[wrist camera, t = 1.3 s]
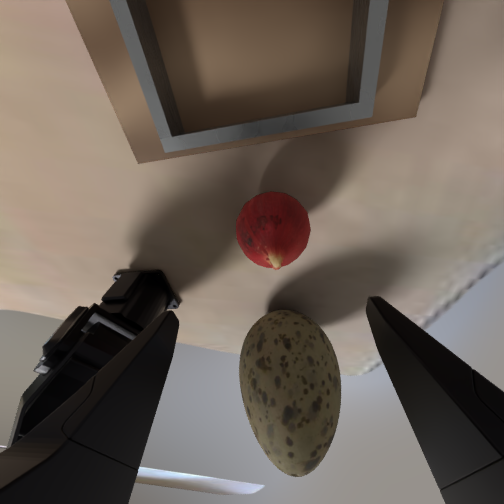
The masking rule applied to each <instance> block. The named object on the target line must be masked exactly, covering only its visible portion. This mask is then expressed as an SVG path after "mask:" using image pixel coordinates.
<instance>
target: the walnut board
mask: <svg viewBox="0 0 504 504" xmlns="http://www.w3.org/2000/svg"><path fill="white" fill-rule="evenodd" d="M145 1H146V4H147V7H148V11H149V14H150V17H151V21H152V24H153V27H154V31H155V34H156V37H157V41H158V44H159V47H160V51H161V54H162V57H163V61H164V64H165V67H166V71H167V74H168V77H169V81H170V84H171V87H172V91H173V94H174V97H175V101H176V104H177V107H178V111H179V114H180V117H181V121H182V124H183V127H184V131H185V132H190V131H195V130H201V129H206V128H212V127H217V126H222V125H228V124H233V123H238V122H244V121H249V120H255V119H260V118H265V117H271V116H276V115H281V114H287V113H292V112H298V111H303V110H308V109H314V108H319V107H324V106H330V105H335V104H341V103H346V90H347V77H348V64H349V51H350V38H351V25H352V12H353V0H145ZM66 3H67V5H68V7H69V9H70V12H71V14H72V16H73V18H74V21H75V23H76V25H77V27H78V30H79V32H80V34H81V36H82V39H83V41H84V43H85V45H86V48H87V50H88V52H89V54H90V57H91V59H92V61H93V63H94V66H95V68H96V70H97V72H98V75H99V77H100V79H101V81H102V84H103V86H104V88H105V90H106V93H107V95H108V97H109V99H110V102H111V104H112V106H113V108H114V111H115V113H116V115H117V117H118V120H119V122H120V124H121V126H122V128H123V131H124V133H125V135H126V137H127V140H128V142H129V144H130V146H131V149H132V151H133V153H134V155H135V158H136V160H137V162H138V164H140V163H146V162H152V161H158V160H164V159H170V158H176V157H181V156H187V155H193V154H199V153H205V152H211V151H217V150H223V149H229V148H235V147H241V146H247V145H253V144H259V143H265V142H271V141H276V140H282V139H288V138H294V137H300V136H306V135H312V134H318V133H324V132H330V131H336V130H342V129H348V128H354V127H360V126H365V125H371V124H377V123H383V122H389V121H395V120H401V119H407V118H413V117H416V114H417V110H418V106H419V102H420V98H421V94H422V90H423V86H424V81H425V77H426V73H427V69H428V65H429V61H430V57H431V53H432V48H433V44H434V40H435V36H436V32H437V28H438V24H439V20H440V15H441V11H442V7H443V3H444V0H389V3H388V10H387V17H386V24H385V31H384V38H383V45H382V52H381V59H380V66H379V73H378V80H377V87H376V94H375V101H374V108H373V115H372V117H369V118H364V119H358V120H352V121H346V122H341V123H335V124H329V125H323V126H318V127H312V128H306V129H300V130H294V131H289V132H283V133H277V134H271V135H266V136H260V137H254V138H248V139H243V140H237V141H231V142H225V143H219V144H214V145H208V146H202V147H196V148H191V149H185V150H179V151H173V152H168V153H165V151H164V149H163V146H162V143H161V141H160V138H159V135H158V132H157V130H156V127H155V124H154V121H153V119H152V116H151V113H150V110H149V108H148V105H147V102H146V99H145V97H144V94H143V91H142V89H141V86H140V83H139V80H138V78H137V75H136V72H135V69H134V67H133V64H132V61H131V58H130V56H129V53H128V50H127V47H126V45H125V42H124V39H123V37H122V34H121V31H120V28H119V26H118V23H117V20H116V17H115V15H114V12H113V9H112V6H111V4H110V1H109V0H66Z"/></svg>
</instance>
